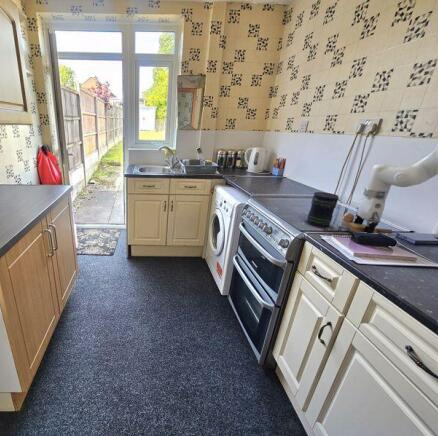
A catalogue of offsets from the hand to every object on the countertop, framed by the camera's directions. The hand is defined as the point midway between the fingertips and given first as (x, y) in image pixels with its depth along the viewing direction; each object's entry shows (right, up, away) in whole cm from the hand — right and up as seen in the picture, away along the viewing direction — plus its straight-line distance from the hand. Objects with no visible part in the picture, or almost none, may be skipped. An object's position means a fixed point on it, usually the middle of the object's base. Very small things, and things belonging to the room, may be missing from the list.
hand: (361, 230), depth 110 cm
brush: (+3, -2, 0) cm, 4 cm away
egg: (0, +2, +9) cm, 9 cm away
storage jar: (-12, +3, +11) cm, 17 cm away
